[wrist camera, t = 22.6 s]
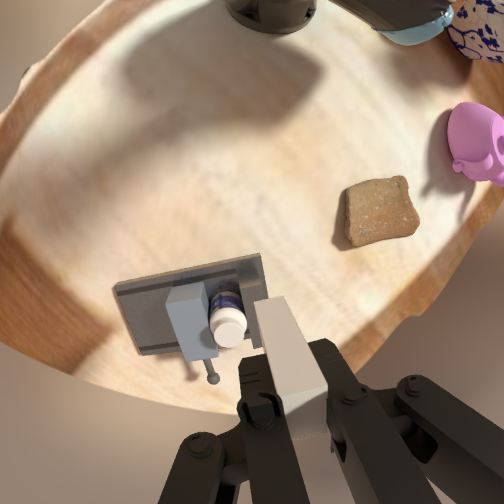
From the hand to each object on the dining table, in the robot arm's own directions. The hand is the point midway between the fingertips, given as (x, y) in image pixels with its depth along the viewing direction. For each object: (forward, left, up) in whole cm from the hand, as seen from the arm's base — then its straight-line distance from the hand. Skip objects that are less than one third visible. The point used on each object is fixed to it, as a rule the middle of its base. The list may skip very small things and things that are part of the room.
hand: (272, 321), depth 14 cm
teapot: (-8, +52, -29) cm, 60 cm away
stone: (+2, +25, -29) cm, 38 cm away
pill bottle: (+12, -4, -27) cm, 30 cm away
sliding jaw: (+16, -9, -27) cm, 33 cm away
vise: (+12, -10, -29) cm, 33 cm away
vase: (-38, +62, -29) cm, 79 cm away
